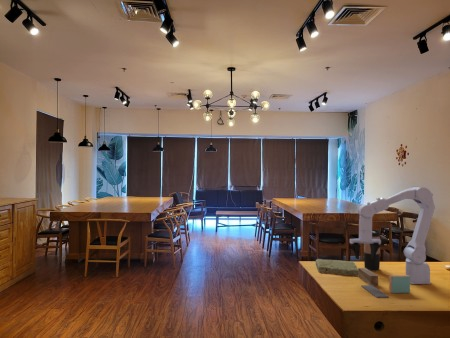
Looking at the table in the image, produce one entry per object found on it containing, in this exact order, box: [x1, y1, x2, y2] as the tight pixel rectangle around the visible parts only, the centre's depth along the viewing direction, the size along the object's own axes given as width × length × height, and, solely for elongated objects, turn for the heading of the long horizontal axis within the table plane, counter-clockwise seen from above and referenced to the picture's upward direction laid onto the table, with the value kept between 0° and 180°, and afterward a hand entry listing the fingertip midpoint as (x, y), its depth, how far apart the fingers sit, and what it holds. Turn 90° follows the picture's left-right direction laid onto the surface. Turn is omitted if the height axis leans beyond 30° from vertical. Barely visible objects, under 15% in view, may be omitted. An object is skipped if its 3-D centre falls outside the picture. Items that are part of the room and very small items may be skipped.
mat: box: [361, 284, 389, 299], centre depth 138 cm, size 5×13×1 cm, turn 3°
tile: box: [388, 274, 411, 294], centre depth 137 cm, size 8×2×7 cm, turn 93°
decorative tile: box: [315, 258, 359, 277], centre depth 169 cm, size 19×20×4 cm
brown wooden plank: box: [357, 267, 379, 287], centre depth 151 cm, size 4×12×4 cm, turn 3°
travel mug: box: [363, 229, 381, 272], centre depth 171 cm, size 8×8×20 cm
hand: (364, 258), depth 154 cm, fingers open, 7 cm apart
